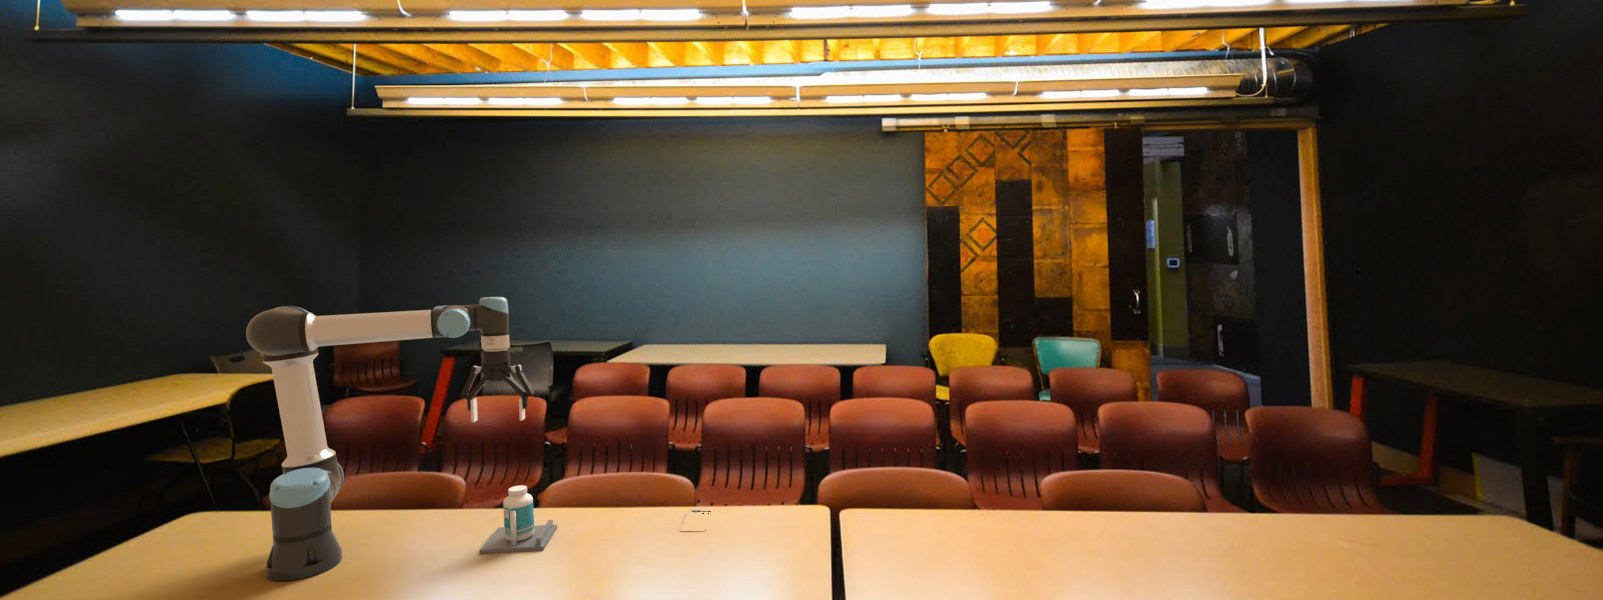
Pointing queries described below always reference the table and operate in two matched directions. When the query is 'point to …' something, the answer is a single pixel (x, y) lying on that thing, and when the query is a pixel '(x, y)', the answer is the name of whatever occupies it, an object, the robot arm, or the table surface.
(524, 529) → the pill bottle
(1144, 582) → the table surface
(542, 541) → the grey peg board
